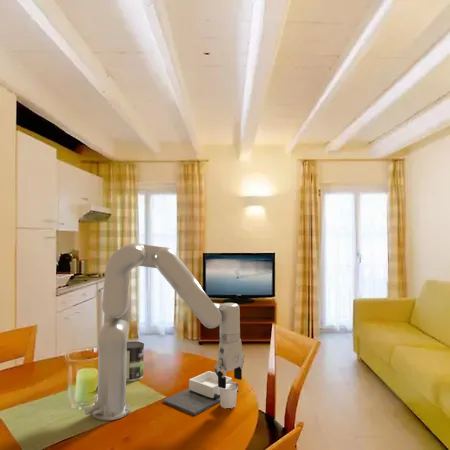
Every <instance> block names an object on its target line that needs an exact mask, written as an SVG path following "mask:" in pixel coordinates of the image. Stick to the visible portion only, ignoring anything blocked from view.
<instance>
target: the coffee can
mask: <svg viewBox="0 0 450 450" xmlns="http://www.w3.org/2000/svg"><path fill="white" fill-rule="evenodd" d="M144 347H145V343H144V342H141V341H127V362H126V382H135V381H139V380H141V379H143V377H144V358H145V357H144V356H145V355H144V354H145V352H144V351H145V350H144Z"/></svg>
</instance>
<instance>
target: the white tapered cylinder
mask: <svg viewBox="0 0 450 450" xmlns="http://www.w3.org/2000/svg"><path fill="white" fill-rule="evenodd" d="M219 389H220V402H219V403H220V407H221V408H223V409H226V408H231V409H234V408H236V406H237V396H238V392H237V389H238V386H237V385H236V384H233V383H226V388H225V389H224V388H221V387H219ZM238 390H239V389H238ZM233 407H234V408H233Z"/></svg>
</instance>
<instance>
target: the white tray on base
mask: <svg viewBox="0 0 450 450" xmlns="http://www.w3.org/2000/svg"><path fill="white" fill-rule="evenodd" d="M225 377H226V383H232V381H233V378H232V377H230V376H227V375H225ZM188 388H189V390H191V391H194V392H197V393H199V394H202V395H205V396H208V397H210V398H214V397H215V398H217V397H218V395H220V389H219V387H218V376H217V374H216V373H215V371H210V370H208V371H205V372H204V373H201V374H199V375H197V376H194V377H192V378H191V377H190V378H189V380H188Z"/></svg>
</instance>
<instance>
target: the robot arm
mask: <svg viewBox="0 0 450 450" xmlns="http://www.w3.org/2000/svg"><path fill="white" fill-rule="evenodd" d="M137 267H144V268H145V267H146V268H151V269H157V270H158V272H159V273H160V274H161V276H163V277H164V279H165V280H166V281H167V282H168V283H169V284H170V286H171V287H172V289H173V290H174V291H175V292H176V294H177V295H178V296H179V298H180V299H181V300H182V301H183V302H184V303H185V305H187V307H188V309H190V310H191V312H192V313H193V314H194V315H195V317H196V318H197V319H198V320H199V321H200V322H201V324H202V325H203V326H204V328H207V329H215V328H217V327H219V344H218V351H217V362H216V364H215V365H214V367H213V369H214V373H216V374H217V376H218V387H221V388H224V389H225V388H226V377H225V376H226V374H227V373H228V372H231V371H233V378H234V379H235V380H239V381H241V380H242V379H243V373H242V372H243V370H242V369H243V367H244V366H243V364H244V362H245V361H244V359H245V354H244V353H243V351H244V350H243V345H242V338H241V326H240V325H241V324H240V323H241V321H240V319H241V318H240V317H241V314H240V312H241V311H240V310H241V309H240V305H239V304H238V303H235V302H224V303H218V302H213V301H212V300H211V298H210V297H209V296H208V294H207V293H206V292H205V291H204V290H203V287H202V286H201V284H200V283H199V281H198V280H197V279H196V277H195V276H194V275H193V273H192V272H191V271H190V270H189V268H188V267H187V266H186V265H185V264H184V262H183V261H182V260H181V259H180V257H179V256H178V255H177V254H176V252H175V251H174V250H173V249H172V248H169V247H167V246H157V245H150V244H143V243H139V242H138V243H136V242H132V243H129V244H127V245H125V246H122V247H120V248H118V249H117V250H115V252H113V253H112V254H111V256H110V257H109V258H108V260H107V262H106V265H105V270H104V271H105V272H104V280H103V281H104V283H103V291H102V301H101V302H102V303H101V309H102V312H103V315H104V316H103V326H102V327H101V329H100V331H99V332H98V333H99V334H98V336H97V349H98V350H97V352H98V354H97V355H98V361H97V362H98V367H97V369H98V371H97V373H98V374H97V400H96V401H94V405H92V406H91V407H88V408H86V409H84V410H83V412H84V415H85V416H88V415H91V414H92V416H93V418H95V419H97V420H100V421H113V420H114V421H115V420H118V419H119V420H120V419H122V418H123V417H125V416H127V415H128V414H129V413H130V411H131V406H130V405H129V403H128V402H127V401H126V399H127V381H126V362H127V342H128V337H129V332H130V321H131V303H132V301H131V295H130V293H129V288H130V287H129V285H130V274H131V272H132V270H133V269H134V268H137Z"/></svg>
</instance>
